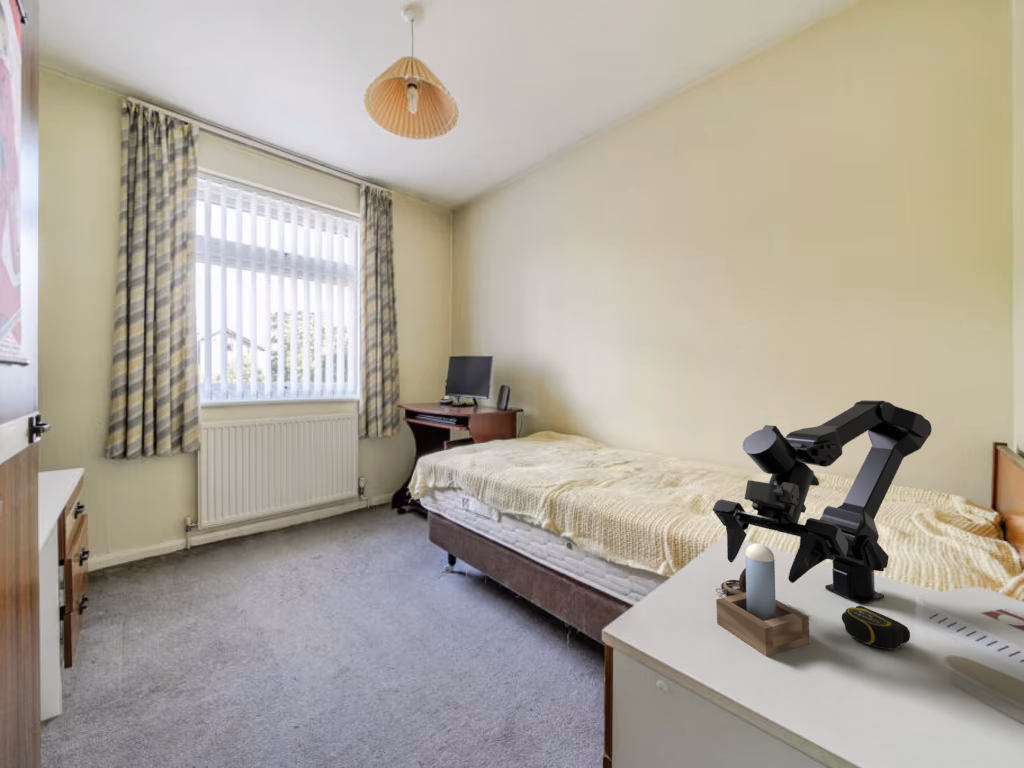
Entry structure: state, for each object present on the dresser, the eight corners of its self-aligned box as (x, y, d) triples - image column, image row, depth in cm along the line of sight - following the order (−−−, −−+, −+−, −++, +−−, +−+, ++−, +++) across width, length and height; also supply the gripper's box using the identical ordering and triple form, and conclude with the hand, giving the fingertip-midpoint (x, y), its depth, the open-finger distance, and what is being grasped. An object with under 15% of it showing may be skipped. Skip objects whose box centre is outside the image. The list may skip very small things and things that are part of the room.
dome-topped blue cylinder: (759, 617, 68) (757, 538, 68) (782, 630, 64) (780, 547, 64) (741, 621, 66) (739, 541, 67) (763, 635, 63) (761, 550, 63)
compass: (740, 583, 82) (738, 547, 82) (773, 603, 74) (771, 563, 74) (705, 588, 80) (704, 551, 80) (735, 609, 72) (734, 568, 72)
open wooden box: (757, 612, 71) (756, 589, 71) (809, 642, 62) (808, 616, 62) (717, 623, 68) (716, 599, 68) (766, 656, 59) (765, 628, 59)
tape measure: (914, 649, 60) (913, 623, 60) (883, 659, 58) (882, 632, 58) (862, 624, 67) (861, 601, 67) (832, 632, 65) (832, 608, 65)
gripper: (716, 455, 76) (683, 527, 70) (837, 470, 60) (809, 563, 54) (739, 491, 80) (710, 561, 74) (858, 513, 65) (834, 604, 58)
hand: (758, 570), depth 65 cm, fingers open, 9 cm apart
